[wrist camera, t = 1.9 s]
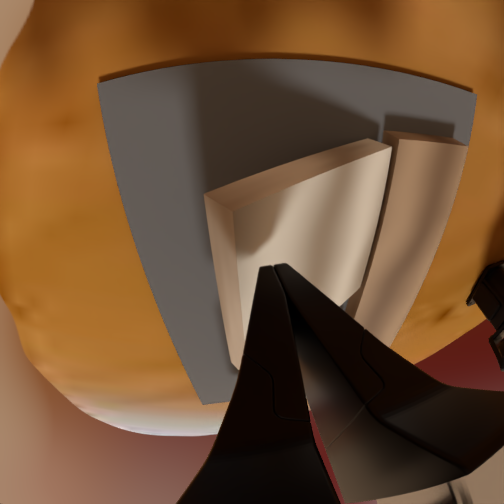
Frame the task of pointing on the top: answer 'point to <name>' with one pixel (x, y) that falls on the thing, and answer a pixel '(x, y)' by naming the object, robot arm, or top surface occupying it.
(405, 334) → the top surface
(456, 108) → the underlay
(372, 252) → the light brown plank
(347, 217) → the light beige plank
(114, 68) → the top surface
